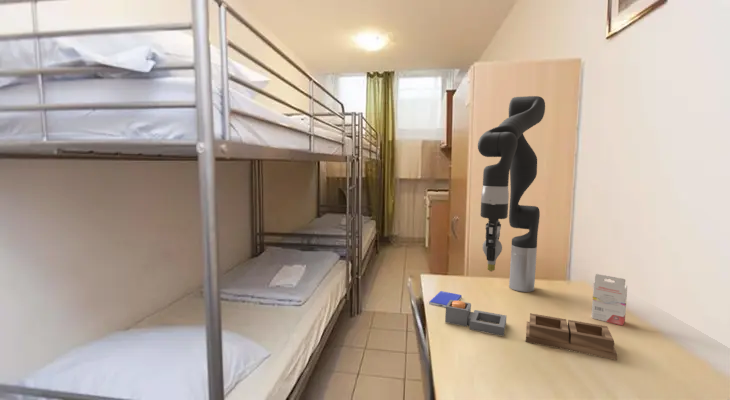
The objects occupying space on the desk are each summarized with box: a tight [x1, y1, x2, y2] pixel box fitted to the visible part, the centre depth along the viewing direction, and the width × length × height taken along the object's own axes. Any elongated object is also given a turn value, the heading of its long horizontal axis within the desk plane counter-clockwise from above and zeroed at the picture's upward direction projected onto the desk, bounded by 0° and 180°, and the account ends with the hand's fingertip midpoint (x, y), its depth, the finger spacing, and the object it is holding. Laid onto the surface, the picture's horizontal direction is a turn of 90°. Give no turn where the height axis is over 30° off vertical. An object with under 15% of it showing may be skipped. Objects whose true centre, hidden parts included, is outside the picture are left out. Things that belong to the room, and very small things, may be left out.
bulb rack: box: [525, 313, 618, 361], centre depth 100 cm, size 11×21×4 cm, turn 65°
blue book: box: [428, 290, 462, 308], centre depth 130 cm, size 2×8×12 cm
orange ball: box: [452, 300, 465, 309], centre depth 113 cm, size 4×4×4 cm
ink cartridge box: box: [591, 273, 628, 327], centre depth 115 cm, size 9×5×15 cm, turn 47°
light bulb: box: [482, 239, 503, 272], centre depth 107 cm, size 6×6×10 cm
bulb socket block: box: [444, 300, 507, 337], centre depth 111 cm, size 10×17×5 cm, turn 65°
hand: (491, 257), depth 108 cm, fingers closed on light bulb, 5 cm apart
